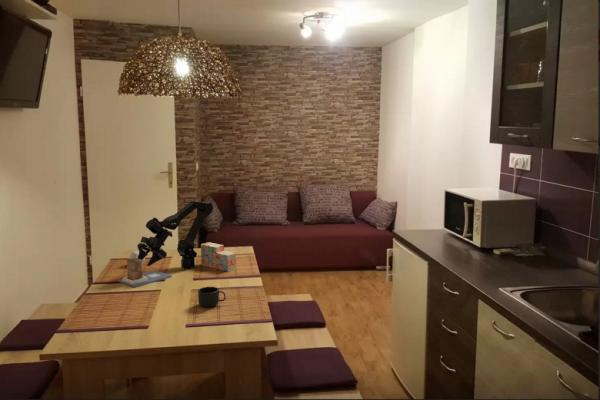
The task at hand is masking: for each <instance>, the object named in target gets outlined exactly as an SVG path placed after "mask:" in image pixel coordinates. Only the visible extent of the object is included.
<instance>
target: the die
mask: <svg viewBox="0 0 600 400" xmlns="http://www.w3.org/2000/svg"><path fill="white" fill-rule="evenodd" d="M138 255H139V250H137V251H132V252H131V253H130V255H129V258H128V260H129V259H133V258H138ZM145 260H146V257H145V258H144V259H142V260H141V261H142V265H143V264H144V263H145Z"/></svg>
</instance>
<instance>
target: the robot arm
mask: <svg viewBox="0 0 600 400" xmlns="http://www.w3.org/2000/svg"><path fill="white" fill-rule="evenodd" d="M213 205H214V204H212V203H211V202H208V201H197V200H190V201H189V202H188V203H187V204H186V205H185V206H183V207H182V208H181V209H179V211H177V212H175V214H172V215H169V216H167V217H165V218H163V220H161V221H160V220H159V219H158V218H157V217H153V218H152V219H149V220H148V221H147V222H146V224H145V227H146V229H147V230H148V231H150V232H151V233H152V234H154V235H155V236H149V237H146V236H143V235H142V236H141V239H140V242H138V244H137V245H136V247H137V250H138V251H139V255H138V259H141V260H142V259H144V258H145V259H146V257H147V256H148V254H149V253H150V252H151V254H152V255H151V257H150V259H149V260H148V262H147V265H146V266H147V267H150V266H152V265H154V264H155V263H157V262H159V261H161V260H163V259H166V257H168V254H167V252H166V251H165V250H164V249H163V248H162V246H164V247H165V245H166V244H165V242H166V240H167V239H168V237H171V238H172V237H173V231H174V230H176V229H177V228H178V227H179V226H180V224H181V222H182V221H183V220H184V219H186V218H187V217H188V216H189V215H190V214H192V213H193V212H194V211H195V210H196V216H195V218H194V220H193V222H192V224H191V226H190V229H189V230H188V231H187V234H186V237H184V238H180V239H179V242H178V244H177V245H176V250H177V252H178V254H179V256H180V257H181V259H180V267H181V268H182V269H184V270H188V269H189V270H190V269H194V268H195V269H196V268H197V267H196V263H195V261H196V260H195V259H196V258H197V255H198V253H197V251H196V250H194V248H195V240H196V239H197V236H198V234H199V232H200V230H201V228H202V226H203V224H204V221H205V220H206V218H207V217H209V216H210V215H211V214H212V212H213V210H214V206H213ZM171 230H172V231H171Z"/></svg>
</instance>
